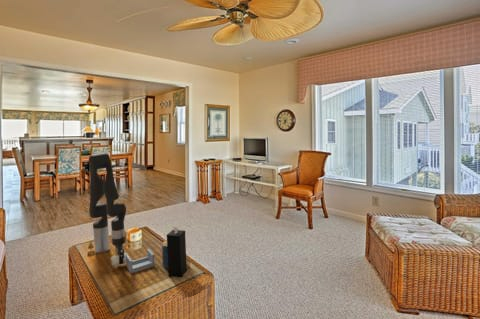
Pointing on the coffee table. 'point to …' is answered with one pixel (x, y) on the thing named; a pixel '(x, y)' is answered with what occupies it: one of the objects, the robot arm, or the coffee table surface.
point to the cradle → (140, 262)
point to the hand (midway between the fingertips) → (120, 261)
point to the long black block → (176, 253)
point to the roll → (117, 259)
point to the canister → (165, 255)
